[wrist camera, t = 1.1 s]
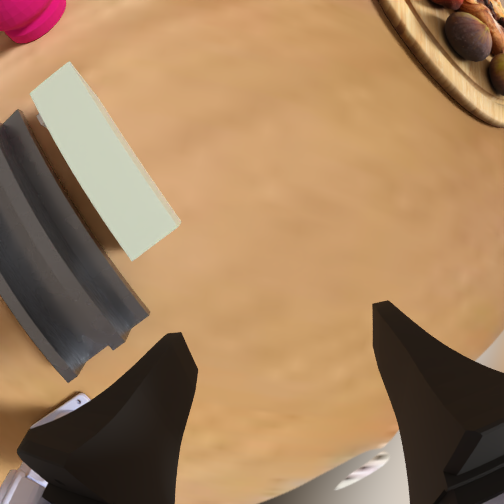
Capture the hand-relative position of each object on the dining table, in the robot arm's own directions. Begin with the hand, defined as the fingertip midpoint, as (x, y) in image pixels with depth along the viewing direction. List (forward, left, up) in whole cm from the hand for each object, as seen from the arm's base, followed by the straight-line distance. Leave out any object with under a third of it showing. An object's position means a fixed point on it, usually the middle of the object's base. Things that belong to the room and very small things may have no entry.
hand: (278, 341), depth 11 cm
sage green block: (-2, +11, -13) cm, 17 cm away
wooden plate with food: (+43, +9, -13) cm, 46 cm away
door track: (-12, +11, -13) cm, 21 cm away
